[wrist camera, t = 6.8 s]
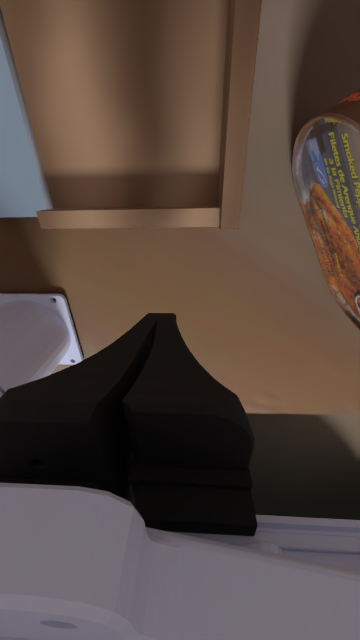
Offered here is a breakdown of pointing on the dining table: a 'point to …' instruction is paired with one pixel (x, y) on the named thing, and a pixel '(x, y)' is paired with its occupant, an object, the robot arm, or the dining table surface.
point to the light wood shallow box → (138, 107)
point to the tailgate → (17, 145)
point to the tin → (333, 196)
